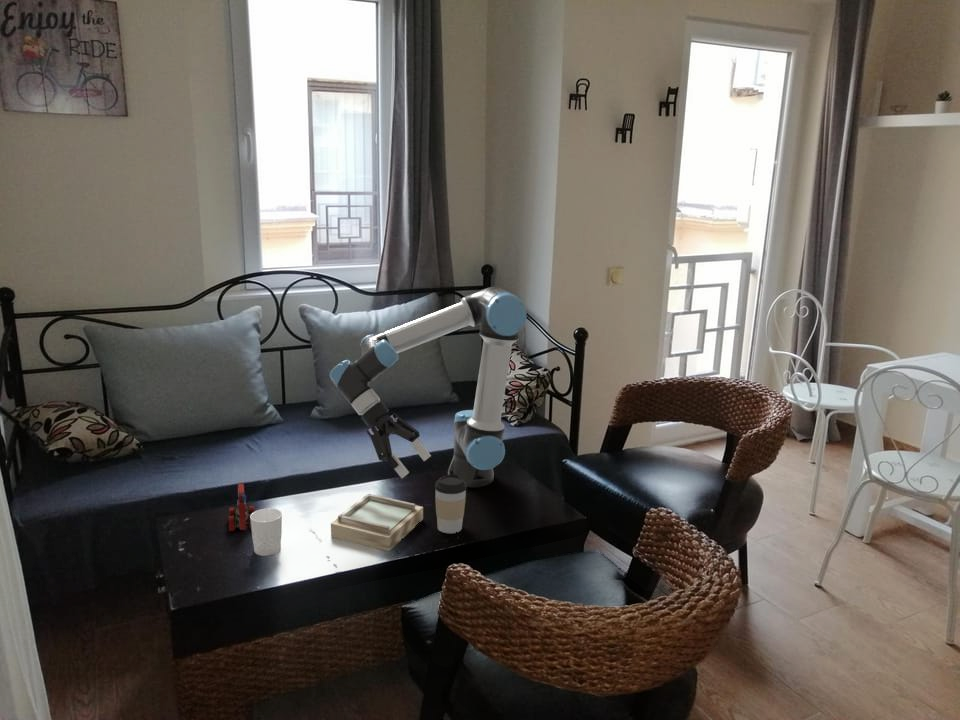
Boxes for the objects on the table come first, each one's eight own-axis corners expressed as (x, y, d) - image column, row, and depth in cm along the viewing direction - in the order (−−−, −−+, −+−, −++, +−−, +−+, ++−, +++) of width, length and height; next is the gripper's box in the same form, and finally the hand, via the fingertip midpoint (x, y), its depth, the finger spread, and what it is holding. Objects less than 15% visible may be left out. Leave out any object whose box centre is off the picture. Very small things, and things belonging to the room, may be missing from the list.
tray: (368, 507, 215) (368, 490, 214) (422, 519, 209) (423, 502, 207) (331, 536, 197) (330, 518, 196) (388, 551, 191) (388, 532, 189)
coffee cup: (461, 537, 199) (463, 487, 196) (430, 533, 201) (430, 483, 197) (468, 522, 208) (470, 474, 204) (438, 518, 210) (439, 470, 206)
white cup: (245, 553, 187) (243, 518, 185) (264, 539, 194) (262, 506, 192) (271, 559, 185) (269, 524, 182) (289, 545, 192) (287, 511, 189)
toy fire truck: (229, 537, 195) (226, 501, 193) (229, 516, 207) (227, 483, 204) (255, 533, 198) (254, 499, 195) (254, 513, 209) (253, 480, 206)
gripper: (384, 403, 219) (428, 458, 217) (338, 429, 196) (386, 490, 195) (400, 389, 215) (444, 445, 214) (355, 413, 193) (404, 475, 191)
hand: (417, 466), depth 204 cm, fingers open, 13 cm apart
